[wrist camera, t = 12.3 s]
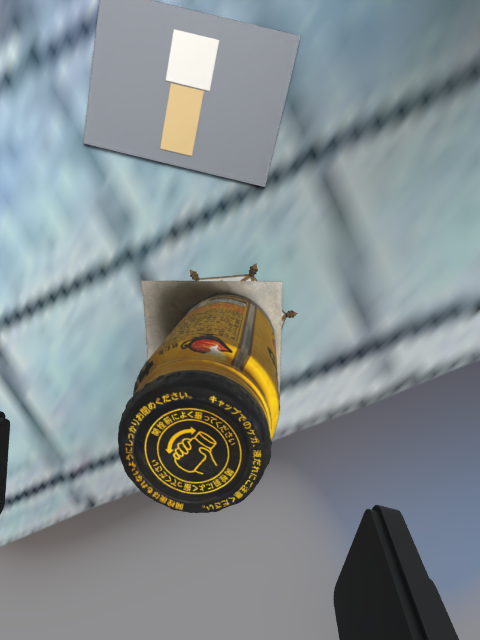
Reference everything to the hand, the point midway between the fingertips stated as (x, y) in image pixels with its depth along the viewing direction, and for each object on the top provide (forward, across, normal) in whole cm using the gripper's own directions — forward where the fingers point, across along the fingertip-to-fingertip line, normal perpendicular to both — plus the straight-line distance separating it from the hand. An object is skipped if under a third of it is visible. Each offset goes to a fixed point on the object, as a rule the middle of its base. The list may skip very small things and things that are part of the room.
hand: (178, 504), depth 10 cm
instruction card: (+23, +7, -14) cm, 28 cm away
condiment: (+15, +1, +1) cm, 15 cm away
